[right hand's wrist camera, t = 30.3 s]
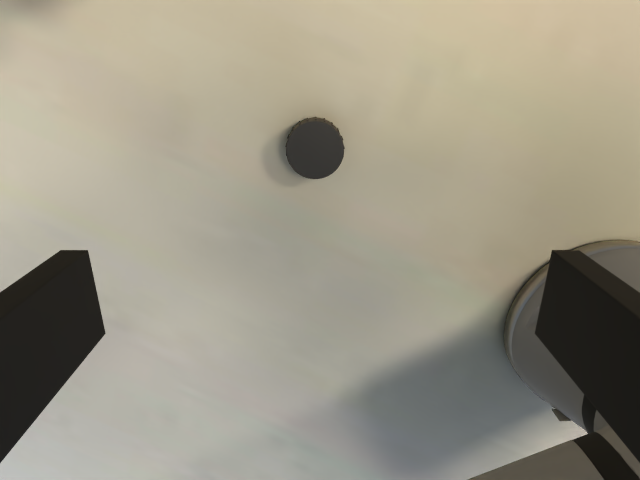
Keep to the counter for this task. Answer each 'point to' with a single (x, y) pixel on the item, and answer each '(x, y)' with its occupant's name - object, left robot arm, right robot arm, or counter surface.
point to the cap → (314, 148)
